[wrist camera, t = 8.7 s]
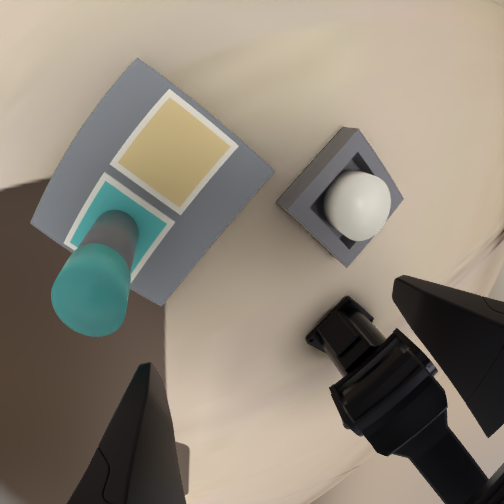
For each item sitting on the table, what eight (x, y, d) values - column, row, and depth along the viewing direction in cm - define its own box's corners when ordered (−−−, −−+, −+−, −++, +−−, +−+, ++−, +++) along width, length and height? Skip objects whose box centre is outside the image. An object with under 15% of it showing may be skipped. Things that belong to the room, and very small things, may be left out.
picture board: (271, 169, 19) (276, 172, 18) (161, 300, 21) (161, 309, 20) (138, 60, 13) (137, 56, 12) (34, 219, 15) (28, 224, 14)
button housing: (388, 192, 23) (403, 198, 21) (334, 257, 24) (346, 267, 22) (342, 127, 19) (358, 128, 17) (276, 202, 20) (286, 210, 18)
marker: (149, 227, 17) (140, 298, 10) (122, 265, 18) (105, 347, 11) (108, 198, 15) (68, 252, 8) (83, 238, 16) (41, 310, 9)
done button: (383, 198, 21) (399, 205, 19) (346, 242, 22) (360, 253, 20) (353, 156, 19) (370, 160, 17) (311, 204, 19) (325, 213, 18)
